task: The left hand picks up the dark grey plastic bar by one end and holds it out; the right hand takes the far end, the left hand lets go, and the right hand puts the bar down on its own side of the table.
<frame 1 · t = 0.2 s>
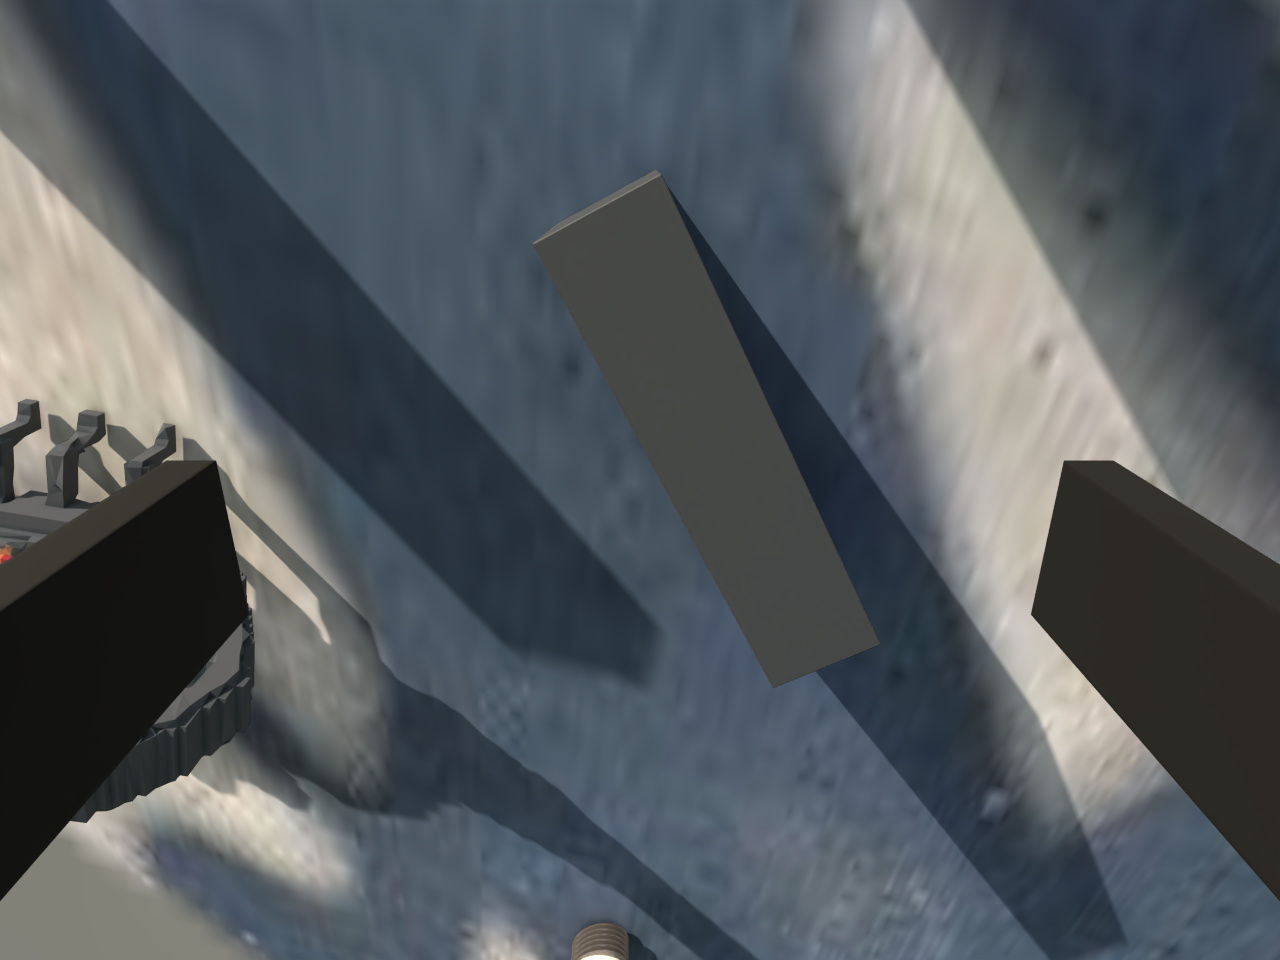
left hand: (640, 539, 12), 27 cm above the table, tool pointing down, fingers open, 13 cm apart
toy: (84, 514, 42), on the table
light bulb: (601, 940, 54), on the table
bar: (707, 400, 40), on the table
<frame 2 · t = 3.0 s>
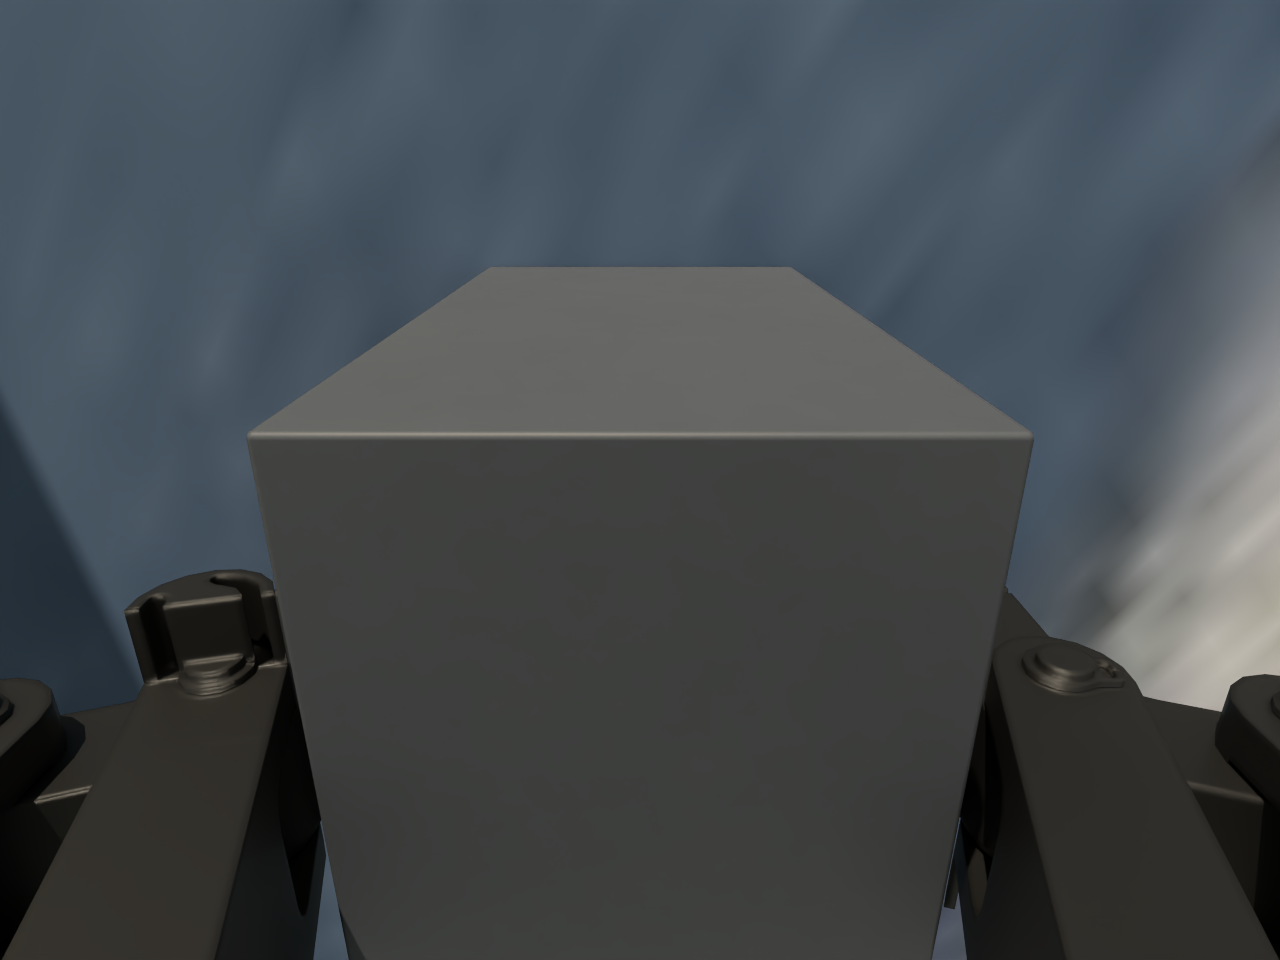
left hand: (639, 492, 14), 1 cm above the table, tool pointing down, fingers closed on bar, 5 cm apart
bar: (640, 771, 17), on the table, touching left hand
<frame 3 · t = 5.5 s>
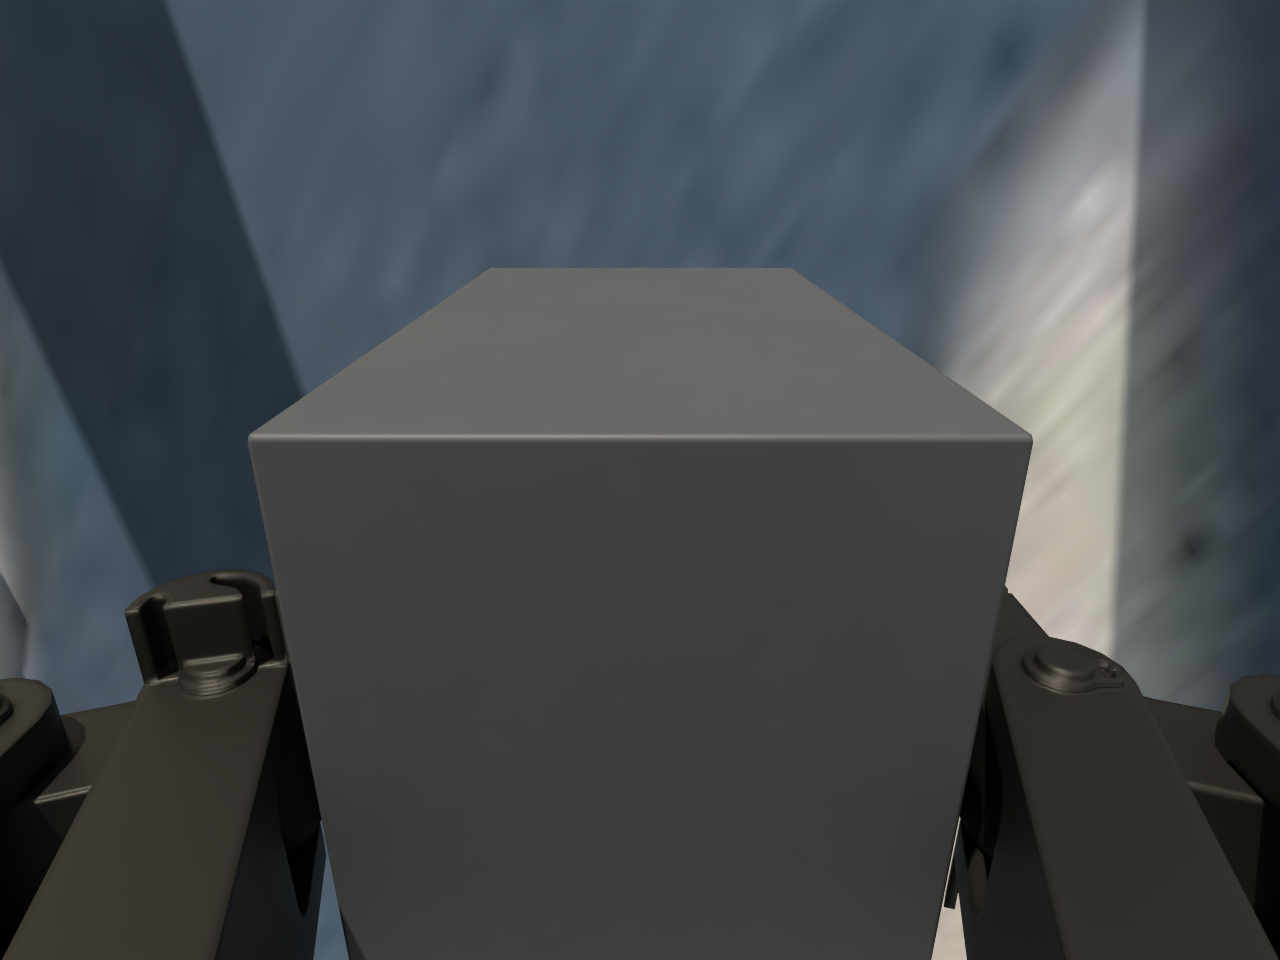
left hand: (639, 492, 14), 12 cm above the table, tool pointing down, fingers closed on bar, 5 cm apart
bar: (640, 772, 17), point 11 cm above the table, touching left hand
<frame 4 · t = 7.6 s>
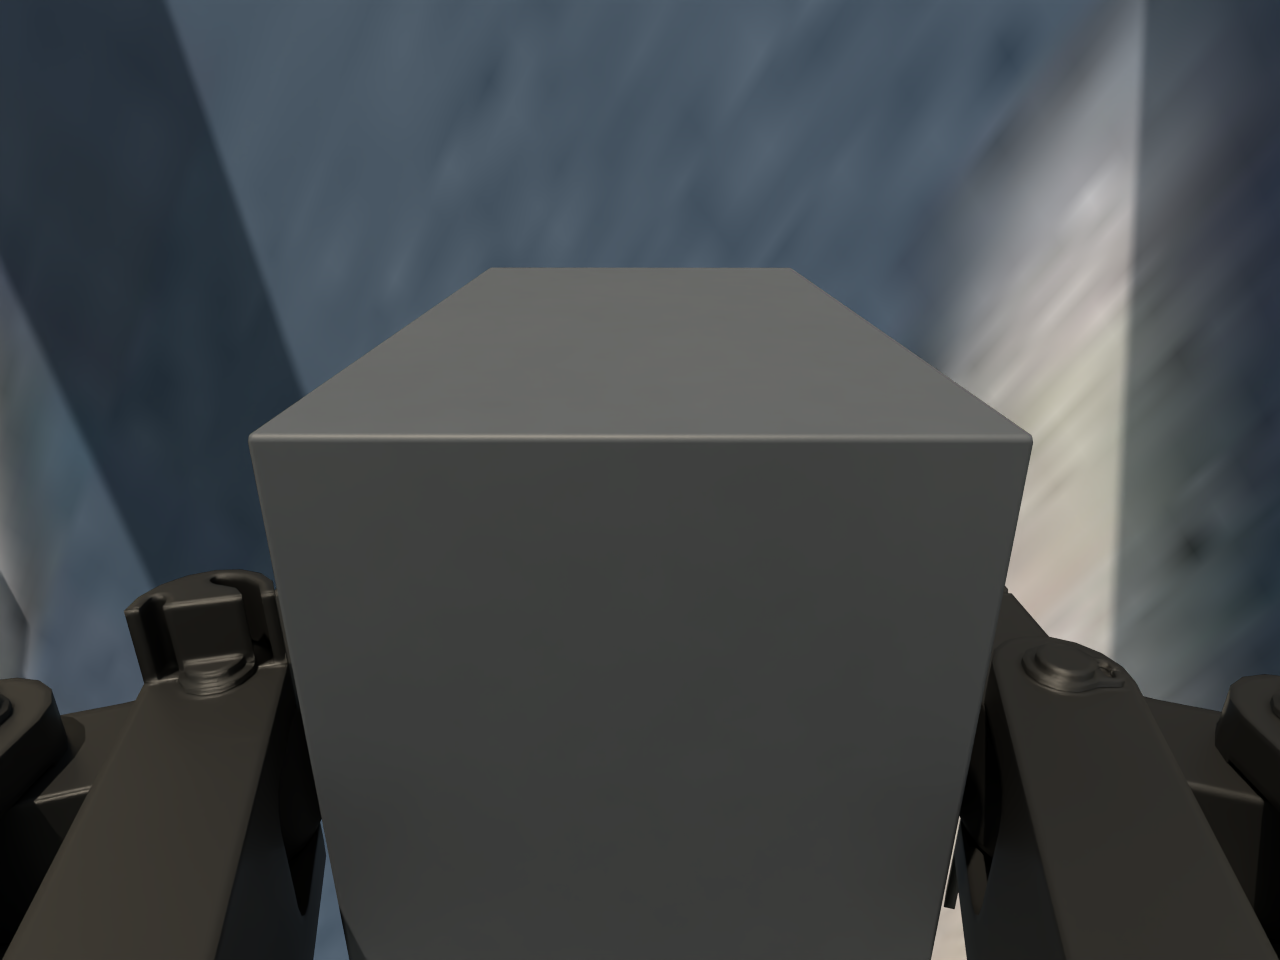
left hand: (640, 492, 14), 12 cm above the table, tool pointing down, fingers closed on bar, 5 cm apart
bar: (640, 771, 17), point 11 cm above the table, touching left hand, right hand
when the left hand's fingers open (12 cm above the table, at t = 8.2 s): bar stays where it is, held by the right hand.
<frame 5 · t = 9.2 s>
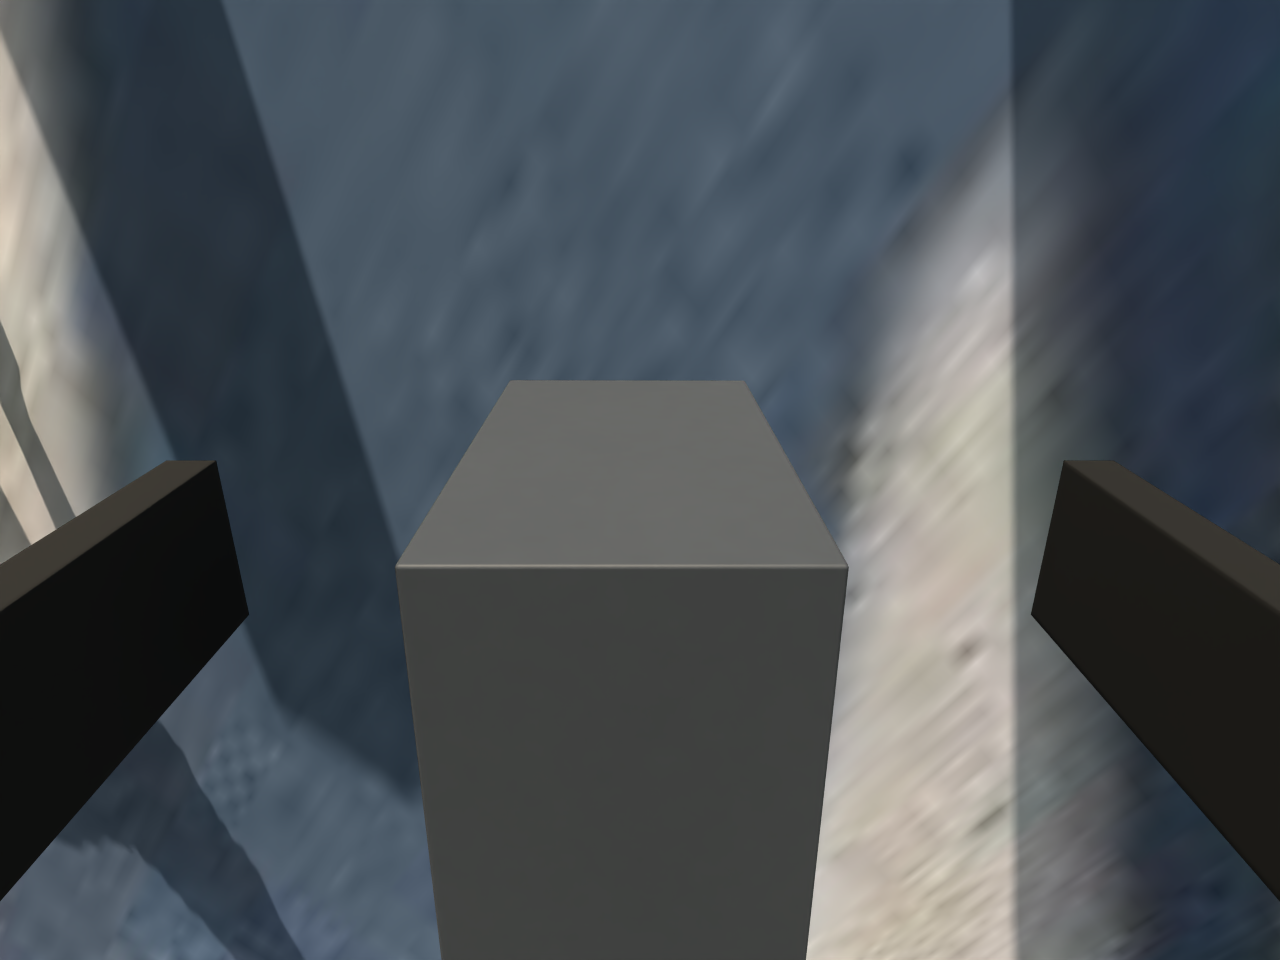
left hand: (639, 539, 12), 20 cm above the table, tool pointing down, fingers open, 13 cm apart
bar: (628, 777, 21), point 14 cm above the table, touching right hand
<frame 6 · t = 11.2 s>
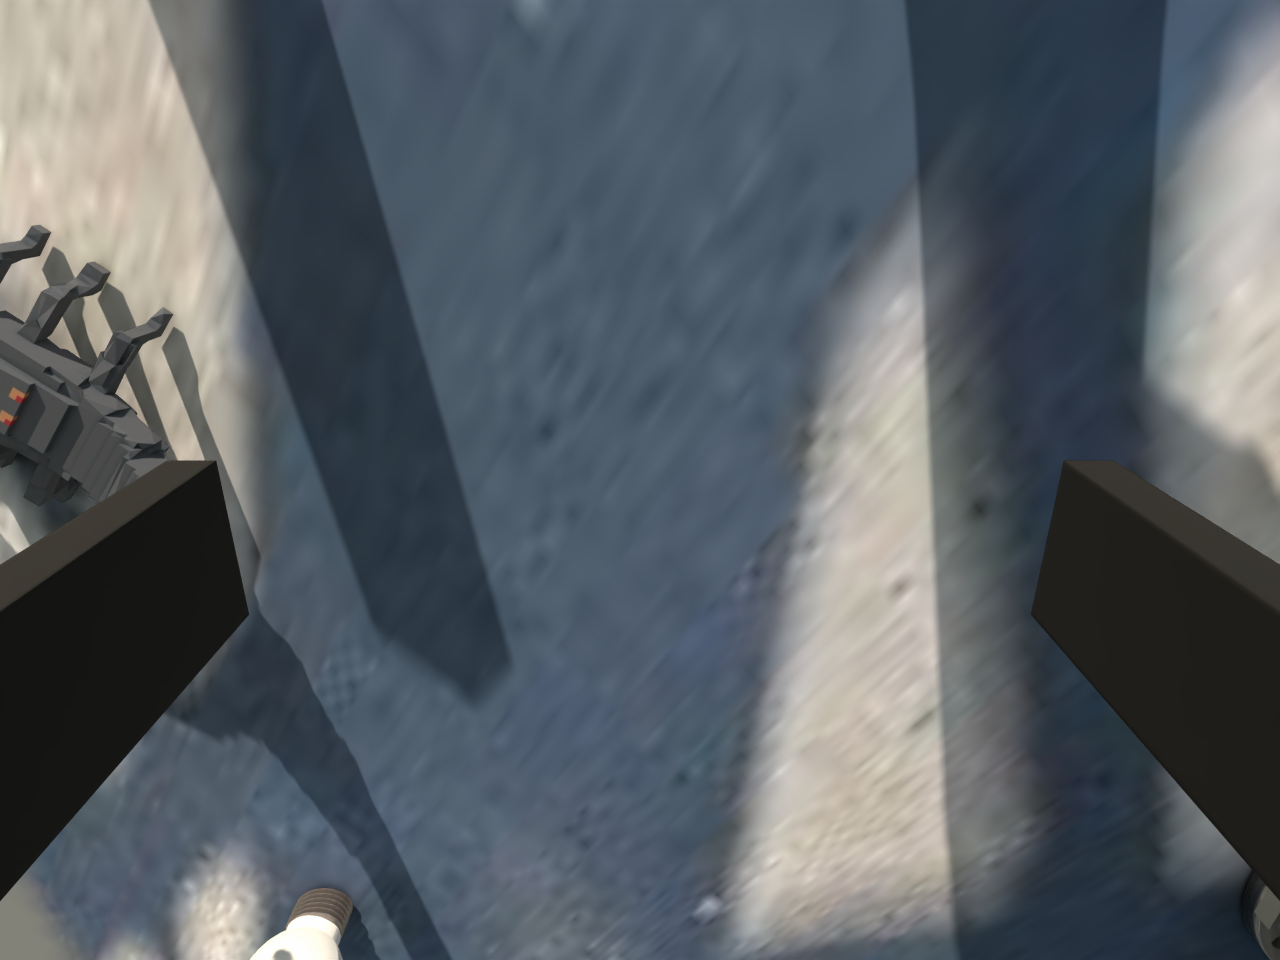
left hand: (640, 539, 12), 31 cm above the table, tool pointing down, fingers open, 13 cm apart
toy: (37, 346, 42), on the table
light bulb: (326, 904, 58), on the table
when the right hand's fingers open (3 cm above the table, at t = 15.2 s): bar drops 2 cm, on the table.
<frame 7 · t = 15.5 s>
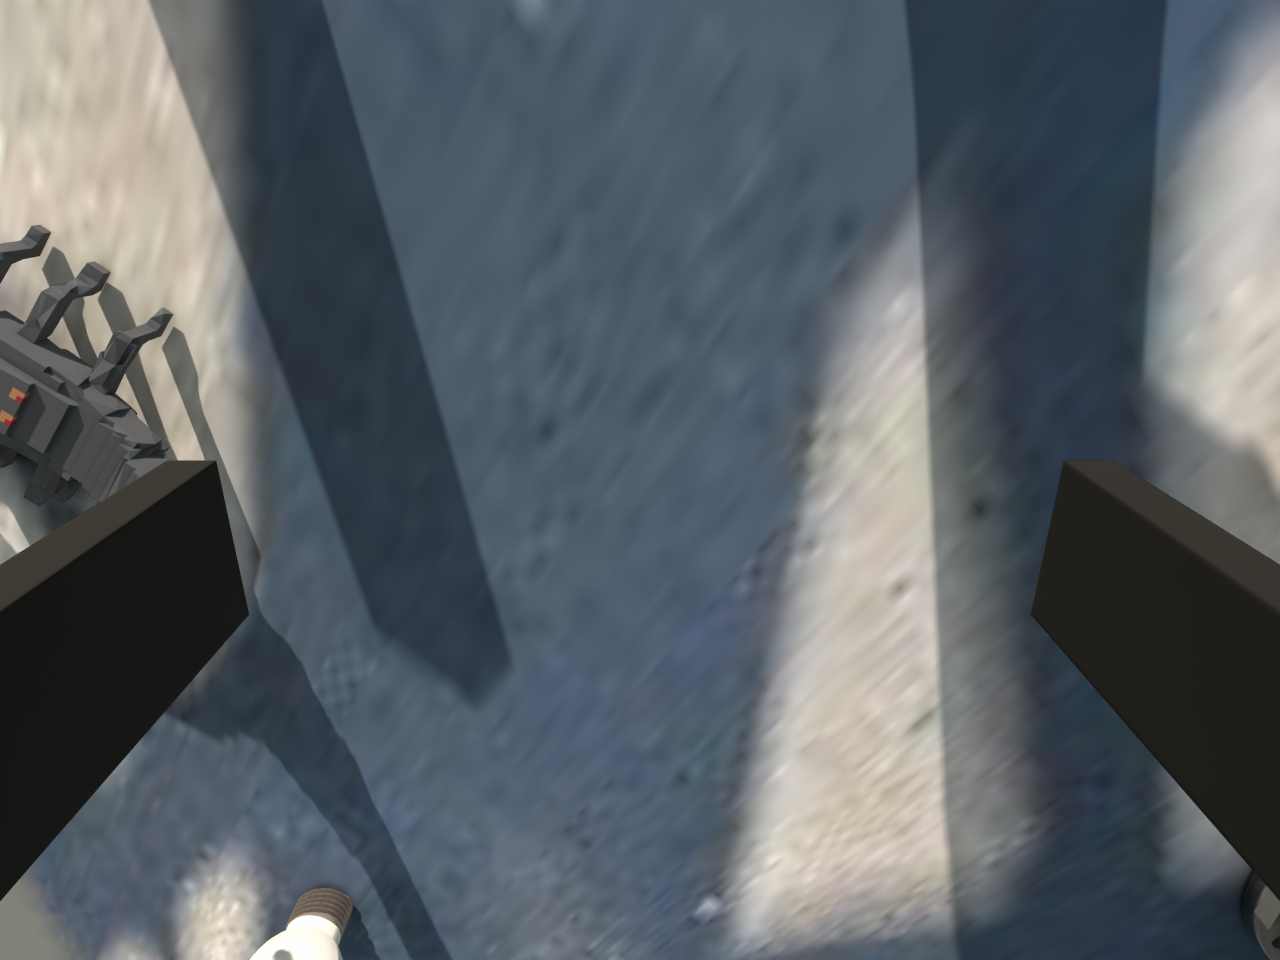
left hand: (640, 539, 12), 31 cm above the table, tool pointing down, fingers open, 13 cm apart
toy: (37, 346, 42), on the table
light bulb: (326, 904, 58), on the table
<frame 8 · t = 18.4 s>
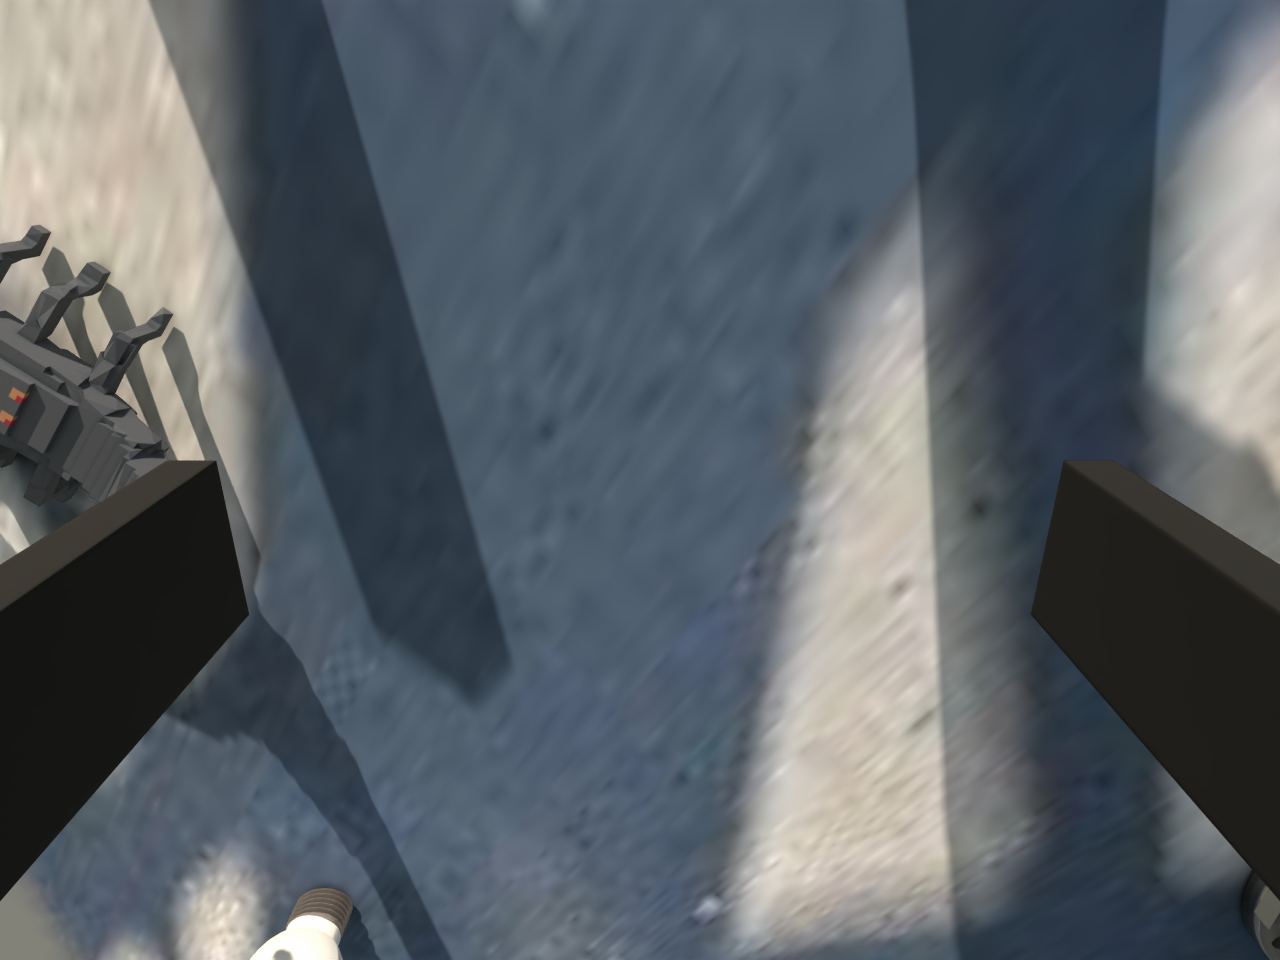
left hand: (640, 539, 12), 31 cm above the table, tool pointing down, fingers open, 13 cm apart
toy: (37, 346, 42), on the table
light bulb: (326, 904, 58), on the table
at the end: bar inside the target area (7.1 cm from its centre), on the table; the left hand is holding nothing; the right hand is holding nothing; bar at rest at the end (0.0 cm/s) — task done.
